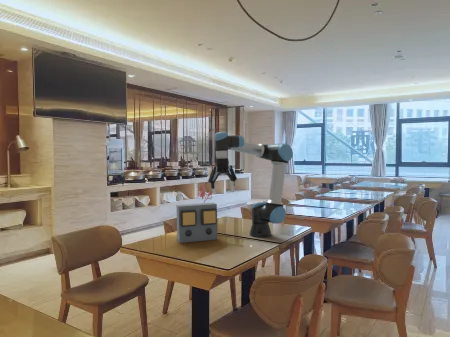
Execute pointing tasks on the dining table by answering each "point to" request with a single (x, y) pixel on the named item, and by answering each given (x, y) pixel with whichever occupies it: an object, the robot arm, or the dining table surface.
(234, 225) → the dining table surface
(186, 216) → the switch key
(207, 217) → the switch key
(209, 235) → the grey knob panel box
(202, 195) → the red coral
